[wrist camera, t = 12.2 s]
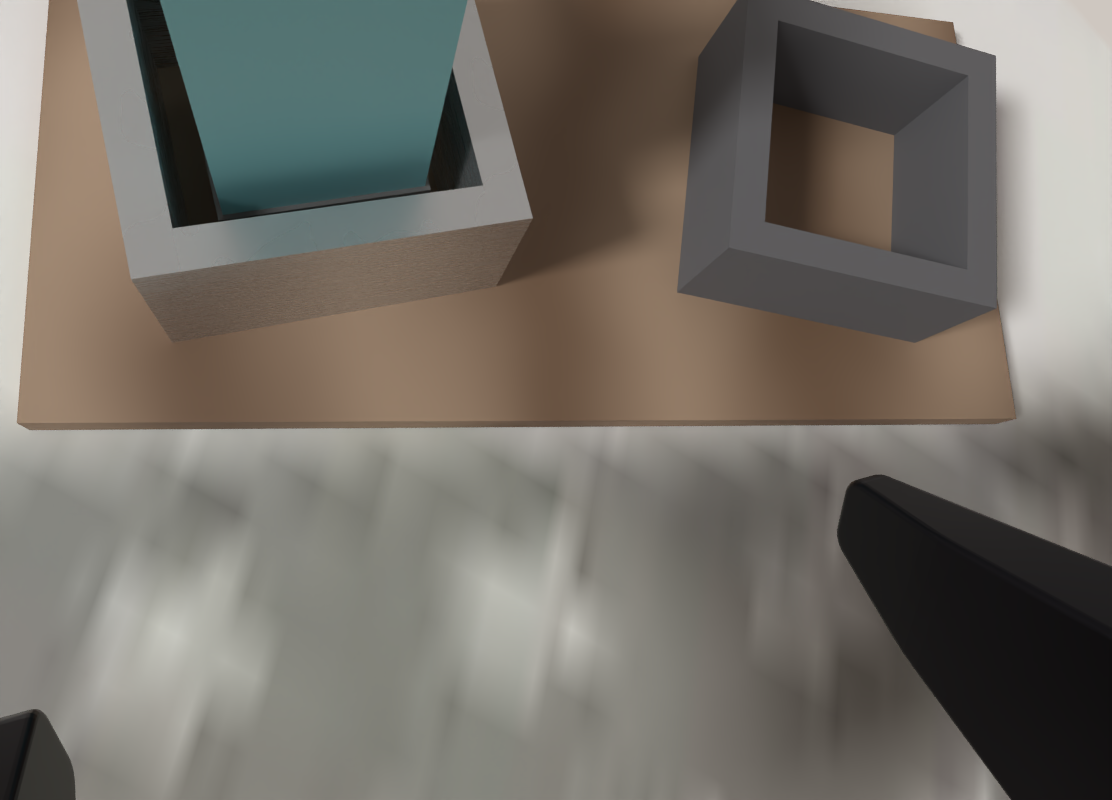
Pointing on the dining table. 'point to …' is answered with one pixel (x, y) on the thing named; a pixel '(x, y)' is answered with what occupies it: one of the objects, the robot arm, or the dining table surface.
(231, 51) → the plug
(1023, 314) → the dining table surface
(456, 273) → the port
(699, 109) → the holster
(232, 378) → the panel board
